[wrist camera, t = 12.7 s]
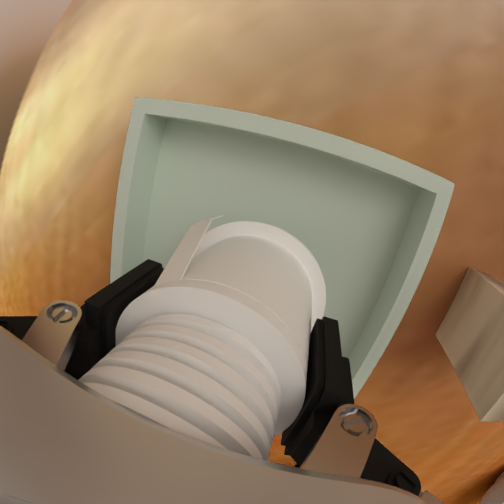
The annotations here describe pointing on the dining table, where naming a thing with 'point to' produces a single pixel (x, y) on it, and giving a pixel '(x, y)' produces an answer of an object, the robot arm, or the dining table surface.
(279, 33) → the dining table surface
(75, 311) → the robot arm
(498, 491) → the cereal bowl
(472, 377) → the maple block
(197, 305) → the downlight
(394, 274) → the tray
